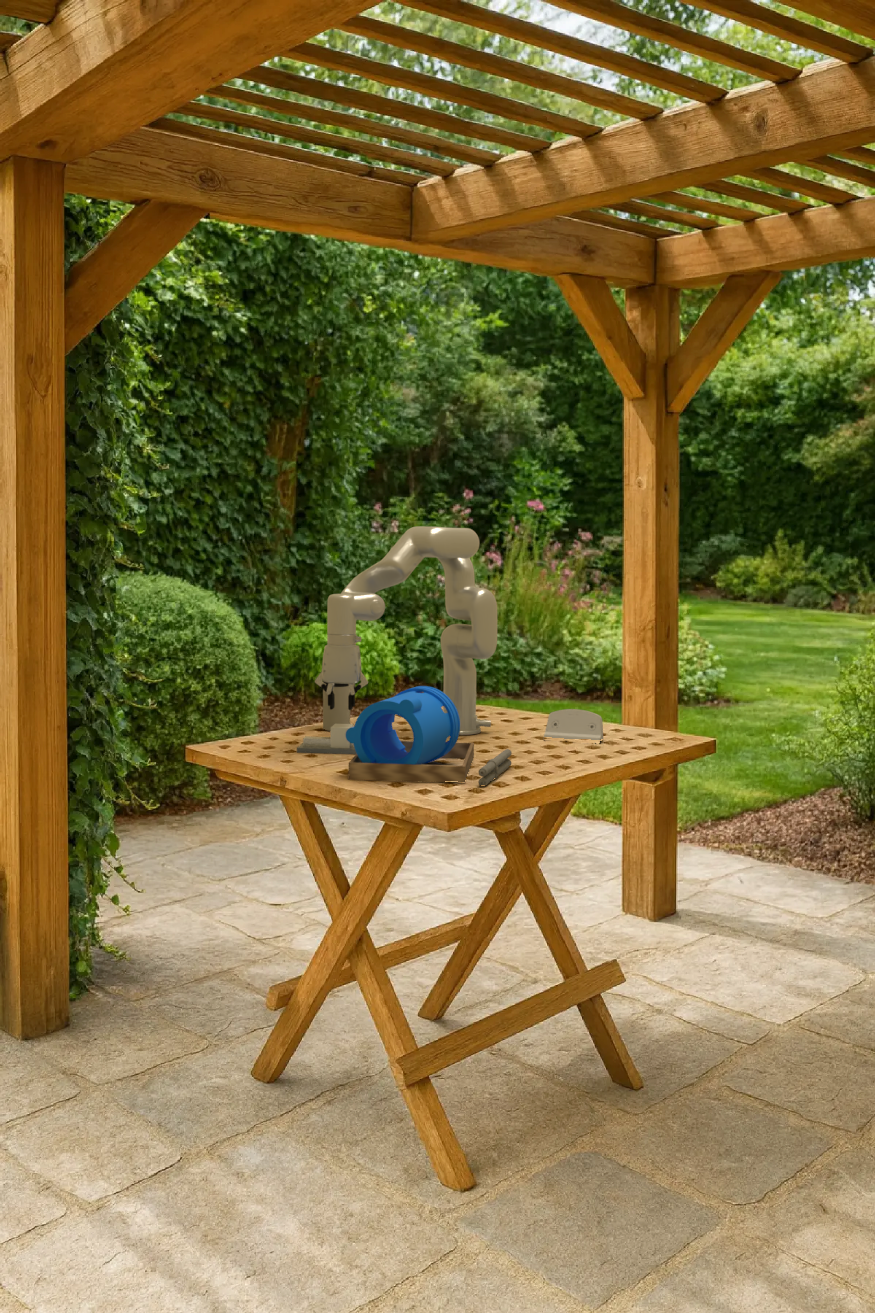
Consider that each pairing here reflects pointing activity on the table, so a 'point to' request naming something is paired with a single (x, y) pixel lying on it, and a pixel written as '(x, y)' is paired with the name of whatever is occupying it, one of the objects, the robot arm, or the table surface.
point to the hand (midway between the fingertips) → (341, 708)
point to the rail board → (322, 746)
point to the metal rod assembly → (495, 767)
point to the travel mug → (336, 707)
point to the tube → (423, 716)
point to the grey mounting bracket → (574, 725)
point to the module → (340, 735)
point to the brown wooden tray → (415, 767)
